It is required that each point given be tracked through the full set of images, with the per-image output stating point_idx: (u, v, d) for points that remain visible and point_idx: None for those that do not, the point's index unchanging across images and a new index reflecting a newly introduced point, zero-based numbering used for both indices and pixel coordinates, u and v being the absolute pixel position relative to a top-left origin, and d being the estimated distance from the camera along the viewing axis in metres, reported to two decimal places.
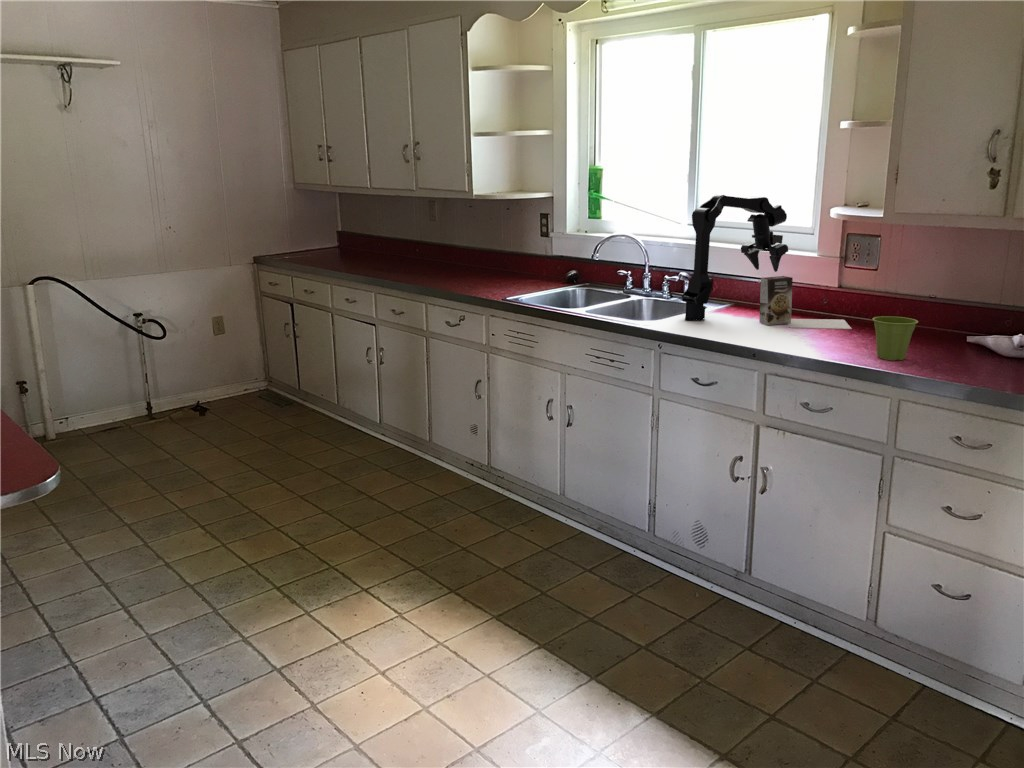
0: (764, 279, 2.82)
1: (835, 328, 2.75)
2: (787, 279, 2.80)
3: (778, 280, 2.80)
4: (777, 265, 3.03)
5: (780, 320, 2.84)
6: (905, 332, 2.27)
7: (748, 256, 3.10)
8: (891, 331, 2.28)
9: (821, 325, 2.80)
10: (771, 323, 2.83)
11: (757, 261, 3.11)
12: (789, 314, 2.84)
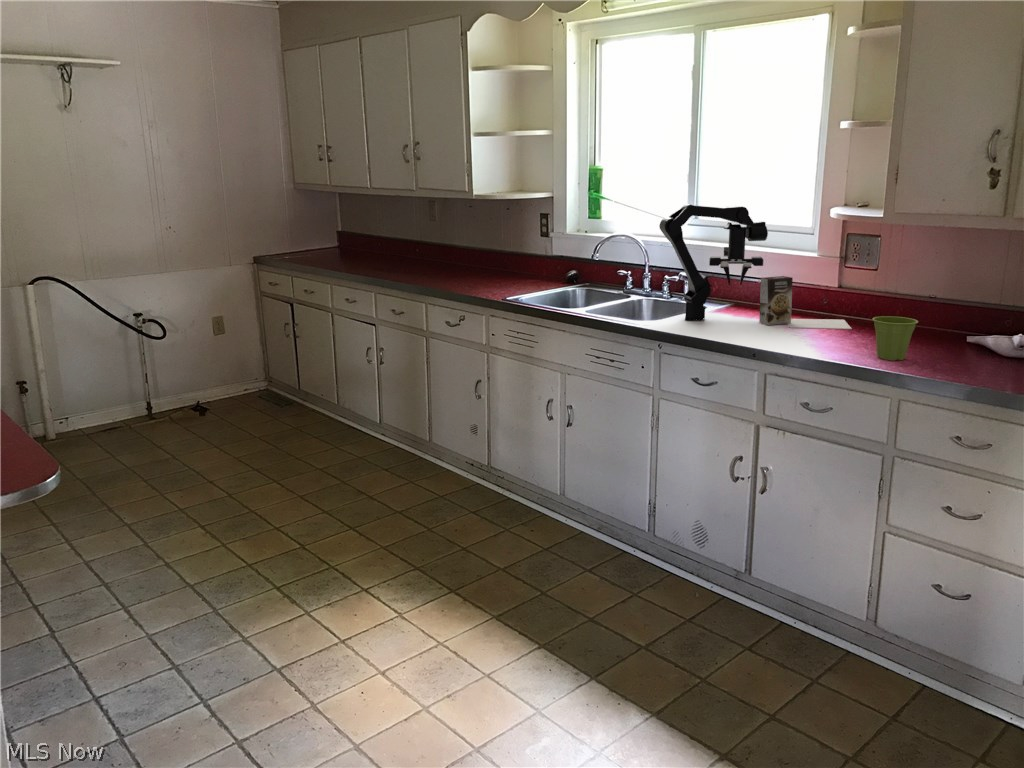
0: (764, 279, 2.82)
1: (835, 328, 2.75)
2: (787, 279, 2.80)
3: (778, 280, 2.80)
4: None
5: (780, 320, 2.84)
6: (905, 332, 2.27)
7: (727, 269, 2.93)
8: (891, 331, 2.28)
9: (821, 325, 2.80)
10: (771, 323, 2.83)
11: None
12: (789, 314, 2.84)
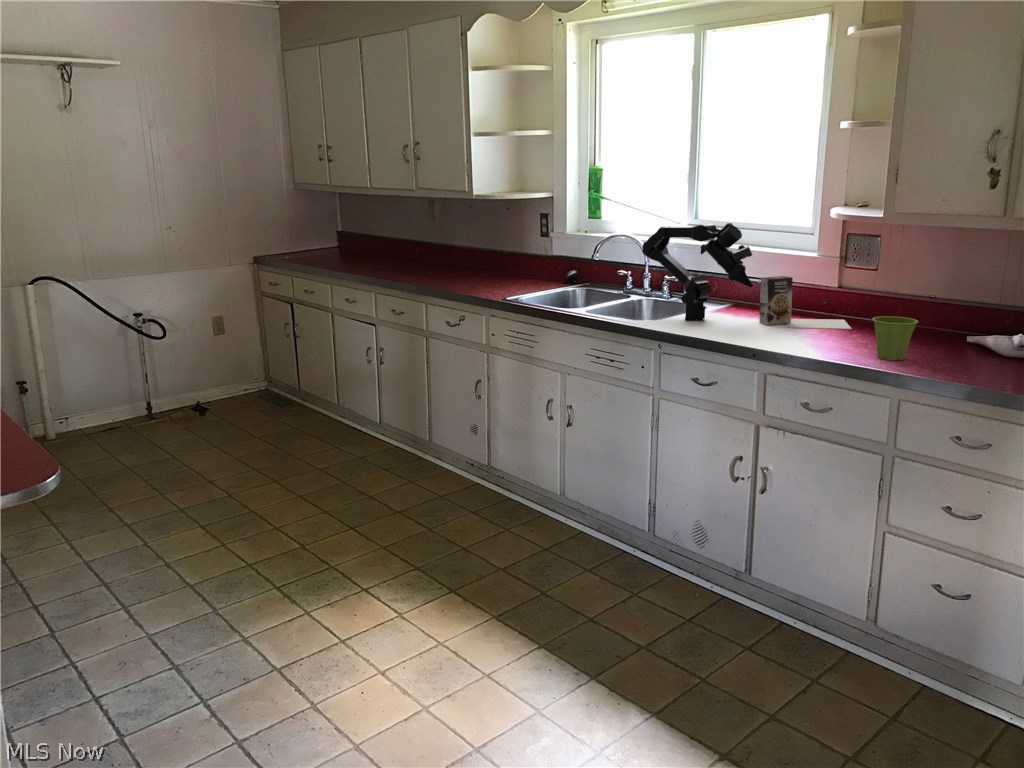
0: (764, 279, 2.82)
1: (835, 328, 2.75)
2: (787, 279, 2.80)
3: (778, 280, 2.80)
4: (747, 281, 2.84)
5: (780, 320, 2.84)
6: (905, 332, 2.27)
7: None
8: (891, 331, 2.28)
9: (821, 325, 2.80)
10: (771, 323, 2.83)
11: None
12: (789, 314, 2.84)
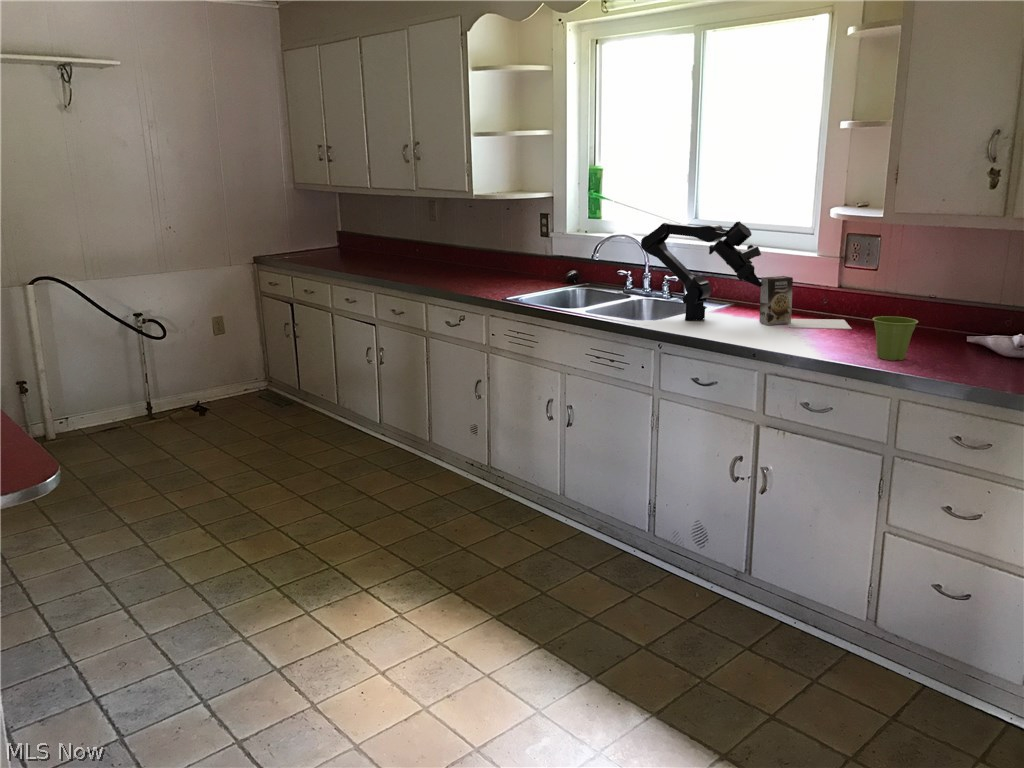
0: (764, 279, 2.82)
1: (835, 328, 2.75)
2: (787, 279, 2.80)
3: (778, 280, 2.80)
4: (756, 281, 2.83)
5: (780, 319, 2.84)
6: (905, 332, 2.27)
7: None
8: (891, 331, 2.28)
9: (821, 325, 2.80)
10: (771, 323, 2.83)
11: None
12: (789, 314, 2.84)
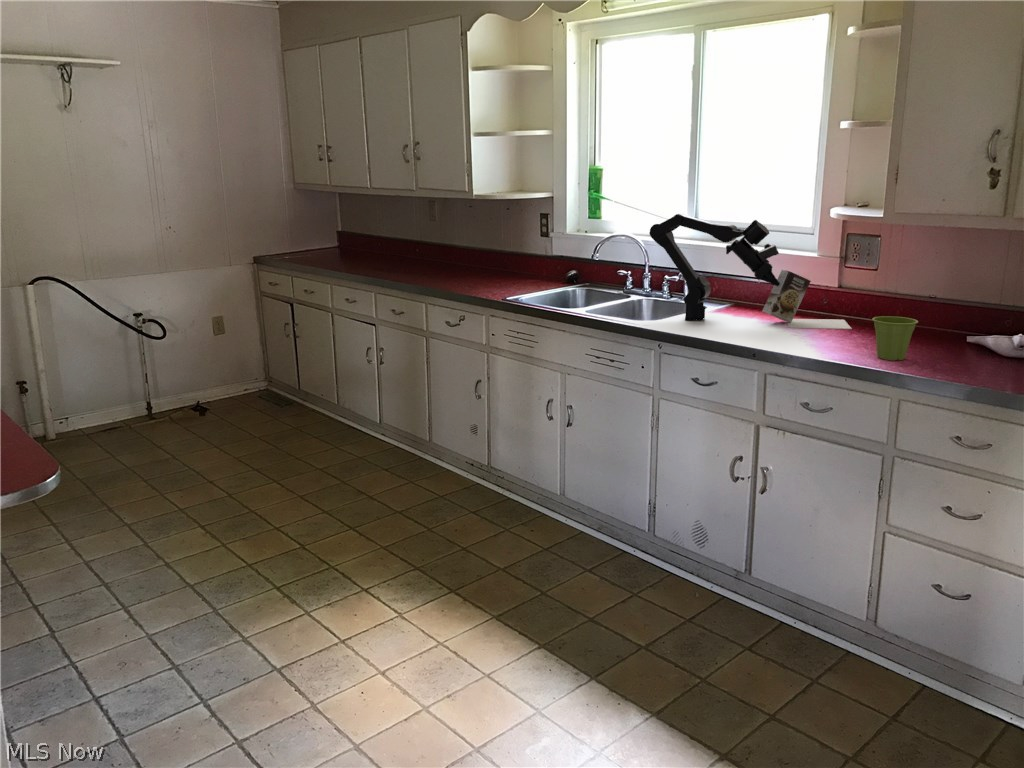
0: (785, 271, 2.83)
1: (835, 328, 2.75)
2: (805, 280, 2.82)
3: (797, 276, 2.81)
4: (774, 280, 2.82)
5: (783, 315, 2.83)
6: (905, 332, 2.27)
7: None
8: (891, 331, 2.28)
9: (821, 325, 2.80)
10: (774, 314, 2.83)
11: None
12: (793, 314, 2.84)
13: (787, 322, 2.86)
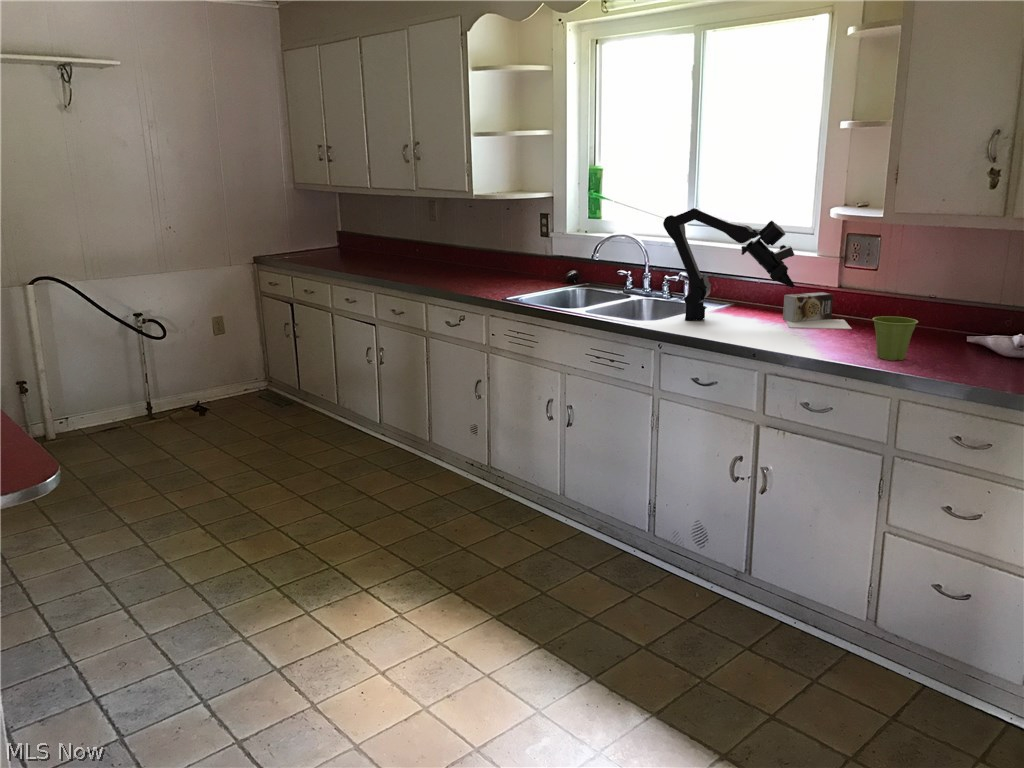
0: (826, 293, 2.91)
1: (835, 328, 2.75)
2: (830, 313, 2.90)
3: (831, 304, 2.89)
4: (789, 281, 2.81)
5: (797, 310, 2.85)
6: (905, 332, 2.27)
7: None
8: (891, 331, 2.28)
9: (821, 325, 2.80)
10: (795, 301, 2.84)
11: None
12: (800, 319, 2.87)
13: (787, 322, 2.86)
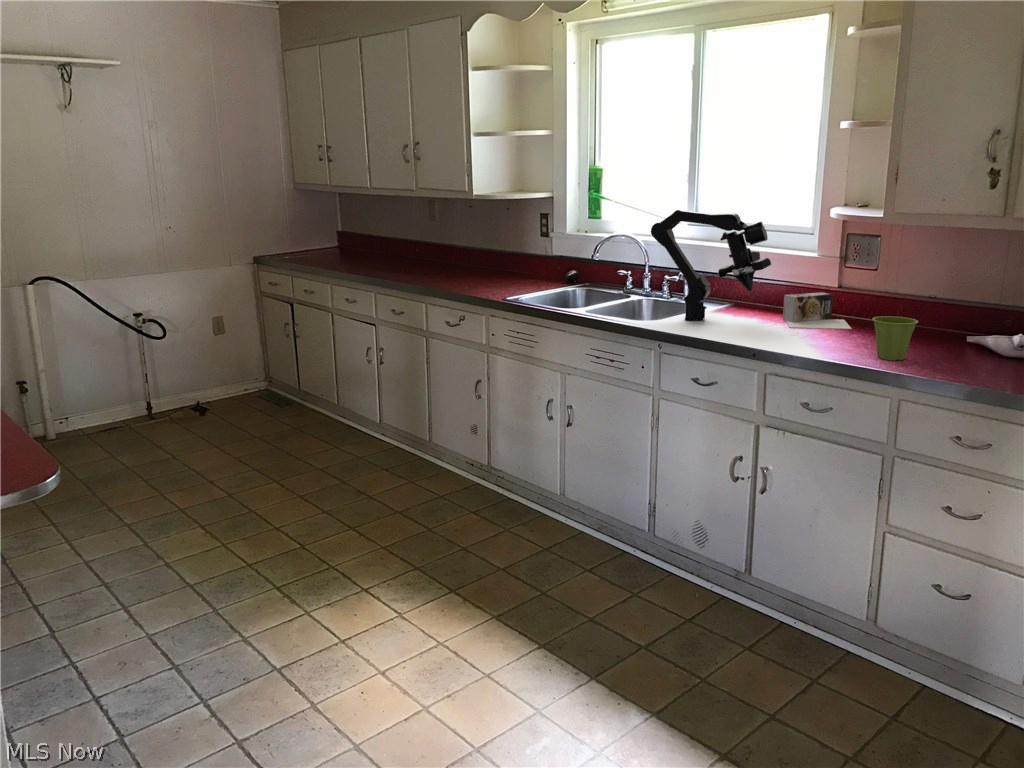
0: (826, 293, 2.91)
1: (835, 328, 2.75)
2: (830, 313, 2.90)
3: (831, 303, 2.89)
4: (751, 283, 2.87)
5: (797, 310, 2.85)
6: (905, 332, 2.27)
7: (738, 277, 2.86)
8: (891, 331, 2.28)
9: (821, 325, 2.80)
10: (795, 301, 2.84)
11: None
12: (800, 319, 2.87)
13: (787, 322, 2.86)
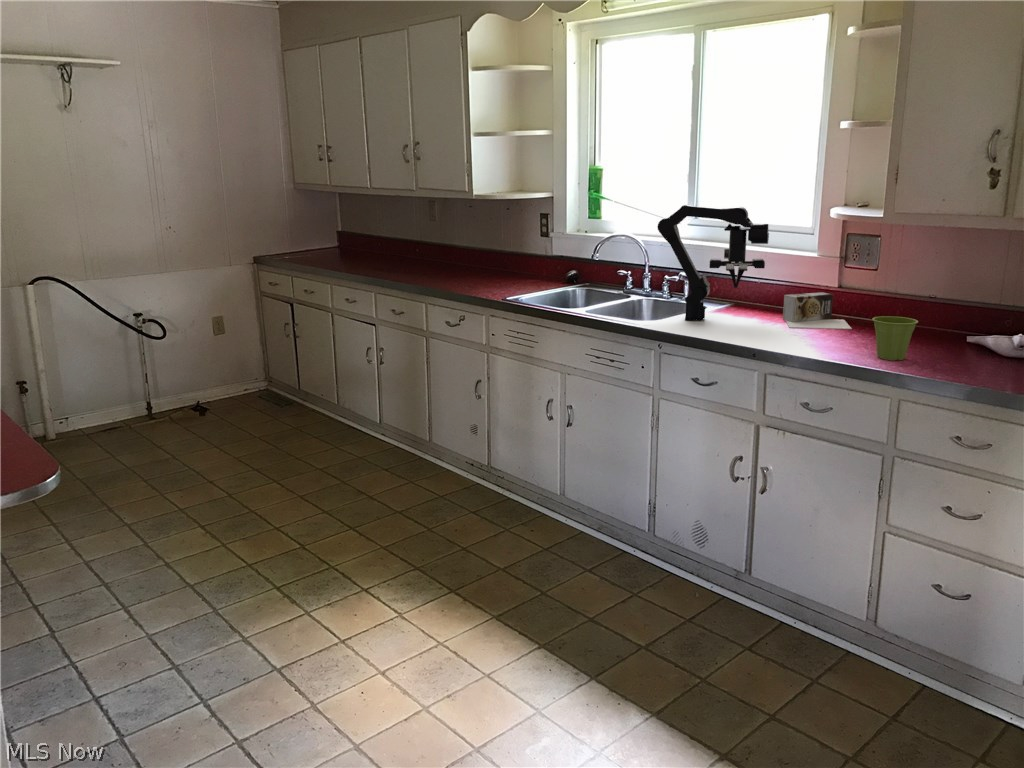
0: (826, 293, 2.91)
1: (835, 328, 2.75)
2: (830, 313, 2.90)
3: (831, 303, 2.89)
4: None
5: (797, 310, 2.85)
6: (905, 332, 2.27)
7: (732, 272, 2.86)
8: (891, 331, 2.28)
9: (821, 325, 2.80)
10: (795, 301, 2.84)
11: None
12: (800, 319, 2.87)
13: (787, 322, 2.86)
